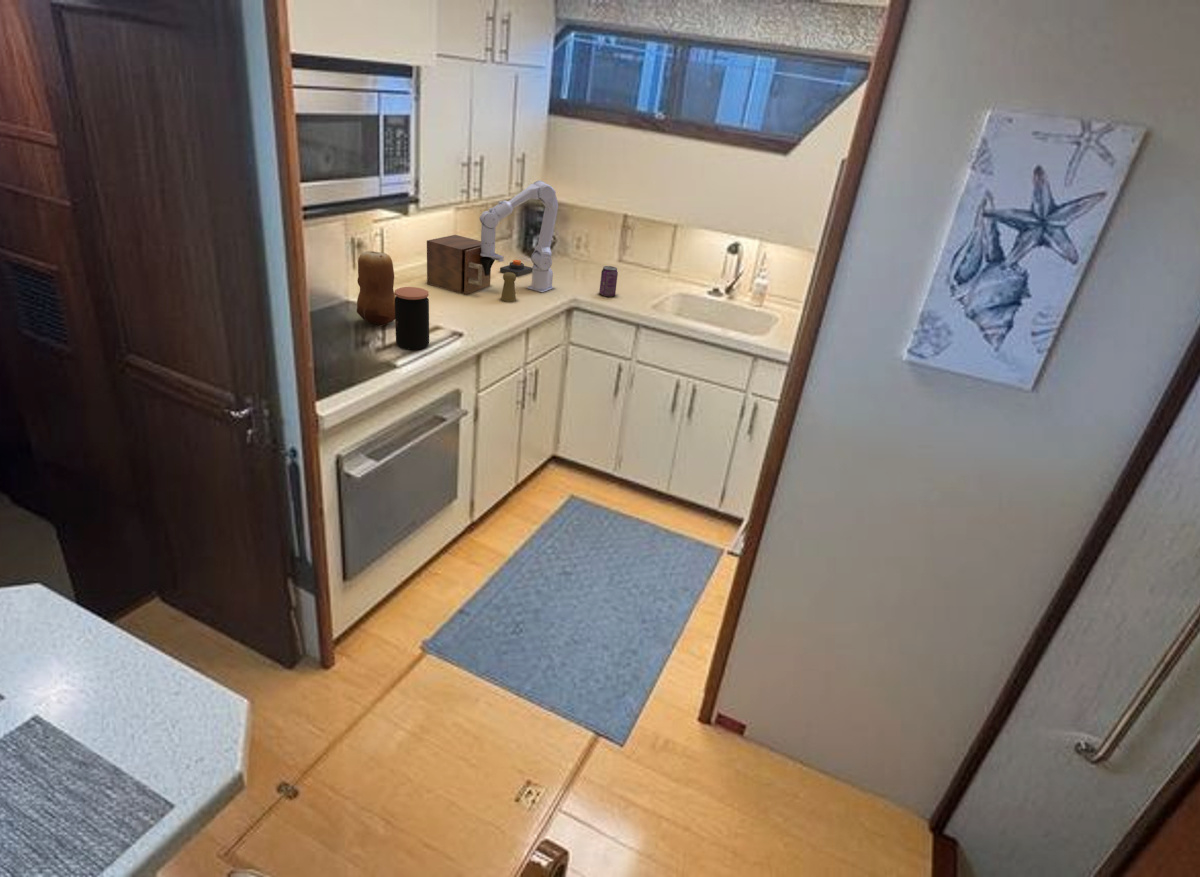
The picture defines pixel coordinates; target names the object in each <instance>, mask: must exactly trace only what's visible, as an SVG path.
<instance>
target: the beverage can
mask: <svg viewBox="0 0 1200 877" xmlns="http://www.w3.org/2000/svg"><path fill="white" fill-rule="evenodd" d="M618 272H619V271H618V268H617V267H615V266H612V265H604V266H603V267H602V270H601V274H600V282H599V292H598V293H599V294H600V295H601V296H604V297H613V296H616V293H617V292H616V291H617V285H618V284H617V283H618V276H619V275H618V274H619V273H618Z"/></svg>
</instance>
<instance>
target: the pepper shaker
mask: <svg viewBox="0 0 1200 877" xmlns="http://www.w3.org/2000/svg"><path fill="white" fill-rule="evenodd" d="M502 279H503V285H502V291H501V297H500V300H501V301H503V302H506V303H514V302H516V301H517V296H516V285H515V282H516V280H517V277H516V275H515V274H514V273H511V272H506V273H503V275H502Z"/></svg>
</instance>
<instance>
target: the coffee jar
mask: <svg viewBox="0 0 1200 877" xmlns="http://www.w3.org/2000/svg"><path fill="white" fill-rule="evenodd" d="M394 294H395V296H396V297H395V320H394V323H395V324H394V326H395V328H394V329H395V342H396V344H397V346H398V347H399V348H401V349H403V350H408V351H419V350H423V349H426V348H427V347H428V345H429V344H430V300H429V298H428V297H429V296H430V295H429V294H430V292H429V290H427V289H425V288H421V287H416V286H404V287H398V288H397V289H394Z"/></svg>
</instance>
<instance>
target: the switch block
mask: <svg viewBox="0 0 1200 877" xmlns="http://www.w3.org/2000/svg"><path fill="white" fill-rule="evenodd" d="M532 268H533V267H531V266H527V265H525V264H524V263H523V262H521V265H514V264H513V261H511V262H509V264H507V265H505V266H500V268H499V272H500V273H501V274H504V273H506V272H511V273H514V274H515V275H516V278H519V277H523V276H525V275H528V274H532Z"/></svg>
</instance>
